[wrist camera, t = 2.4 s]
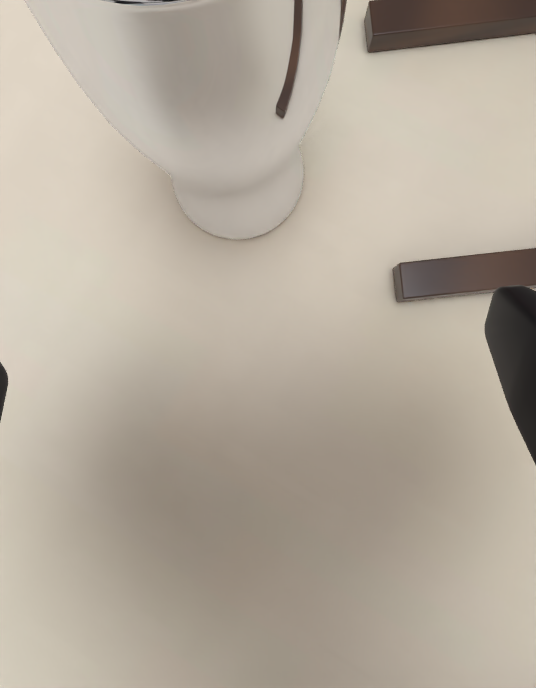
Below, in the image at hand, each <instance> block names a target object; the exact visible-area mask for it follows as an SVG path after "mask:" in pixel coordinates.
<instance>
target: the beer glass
mask: <svg viewBox="0 0 536 688" xmlns="http://www.w3.org/2000/svg"><path fill="white" fill-rule="evenodd" d="M24 1H25V3H26V4H27V6H28V8H29V9H30V11H31V13H32V14H33V16H34V18H35V19H36V21H37V23H38V24H39V26H40V28H41V29H42V31H43V33H44V34H45V36H46V38H47V39H48V41H49V42H50V44H51V45H52V47H53V48H54V50H55V51H56V53H57V54H58V56H59V57H60V59H61V60H62V62H63V63H64V65H65V66H66V68H67V69H68V71H69V72H70V74H71V75H72V77H73V78H74V80H75V81H76V83H77V84H78V85H79V87H80V88H81V89H82V91H83V92H84V93H85V94H86V96H87V97H88V98H89V99H90V100H91V102H92V103H93V104H94V105H95V107H96V108H97V109H98V110H99V112H100V113H101V114H102V115H103V117H104V118H105V119H106V120H107V121H108V123H109V124H110V125H111V126H112V127H113V128H114V129H115V130H116V131H117V132H118V133H119V134H121V135H122V136H123V137H124V138H125V139H126V140H127V141H128V142H129V143H130V144H131V145H132V146H133V147H135V148H136V149H137V150H138V151H139V152H140V153H141V154H143V155H144V156H145V157H146V158H148V159H149V160H150V161H152V162H153V163H154V164H155V165H157V166H158V167H159V168H161V169H162V170H163V171H165V172H166V173H168V174H169V175H170V176H171V181H172V186H173V190H174V193H175V196H176V198H177V201H178V203H179V205H180V207H181V208H182V210H183V211H184V213H185V214H186V215H187V217H188V218H189V219H190V220H191V221H192V222H193V223H194V224H195V225H197V226H198V227H199V228H201V229H202V230H204V231H206V232H208V233H210V234H212V235H214V236H217V237H221V238H225V239H234V240H241V239H249V238H254V237H257V236H260V235H263V234H265V233H267V232H269V231H271V230H273V229H274V228H276V227H277V226H278V225H279V224H281V223H282V222H283V221H284V220H285V219H286V218H287V217H288V216H289V214H290V213H291V212H292V210H293V209H294V207H295V206H296V204H297V202H298V200H299V197H300V194H301V191H302V187H303V182H304V163H303V158H302V154H301V150H300V147H299V145H300V143H301V141H302V139H303V137H304V136H305V134H306V132H307V130H308V128H309V126H310V124H311V122H312V120H313V118H314V116H315V113H316V111H317V109H318V107H319V104H320V102H321V99H322V97H323V94H324V91H325V89H326V86H327V84H328V81H329V78H330V76H331V72H332V69H333V65H334V61H335V57H336V53H337V49H338V44H339V40H340V36H341V32H342V27H343V22H344V17H345V10H346V3H347V0H24Z"/></svg>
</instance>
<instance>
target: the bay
mask: <svg viewBox="0 0 536 688" xmlns="http://www.w3.org/2000/svg"><path fill="white" fill-rule="evenodd" d="M364 21H365V30H366V39H367V47H368V52H375V51H384V50H392V49H401V48H409V47H418V46H426V45H435V44H443V43H452V42H460V41H468V40H477V39H485V38H494V37H502V36H511V35H519V34H528V33H536V0H374V1H369V4H368V8H367V12H366V16H365V20H364ZM393 273H394V282H395V291H396V299H397V302H405V301H414V300H423V299H433V298H442V297H451V296H461V295H470V294H479V293H489V292H495V290H496V289H497V288H499V287H503V286H513V285H523V286H526V287H528V288H535V287H536V248H532V249H523V250H514V251H504V252H495V253H486V254H477V255H468V256H459V257H449V258H440V259H431V260H422V261H413V262H403V263H399V264H398V265H397V266H395V267H394V268H393Z"/></svg>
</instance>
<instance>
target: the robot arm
mask: <svg viewBox="0 0 536 688" xmlns="http://www.w3.org/2000/svg"><path fill="white" fill-rule="evenodd" d="M485 336H486V340H487V343H488V346H489V349H490V352H491V355H492V358H493V361H494V364H495V367H496V370H497V373H498V376H499V379H500V382H501V385H502V388H503V391H504V394H505V397H506V400H507V403H508V406H509V408H510V411H511V413H512V415H513V418H514V420H515V422H516V424H517V426H518V429H519V431H520V433H521V435H522V437H523V439H524V441H525V443H526V445H527V448H528V450H529V452H530V454H531V456H532V458H533V460H534V462H535V464H536V291H534V290H532V289H530V288H528V287H526V286H523V285H513V286H503V287H499V288H497V289H496V290H495V292H494V294H493V296H492V300H491V304H490V307H489V311H488V315H487V318H486V322H485ZM7 386H8V376H7V373H6V370H5V369H4V367H3V365H2V364H1V362H0V421H1V416H2V411H3V406H4V401H5V396H6V391H7Z"/></svg>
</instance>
